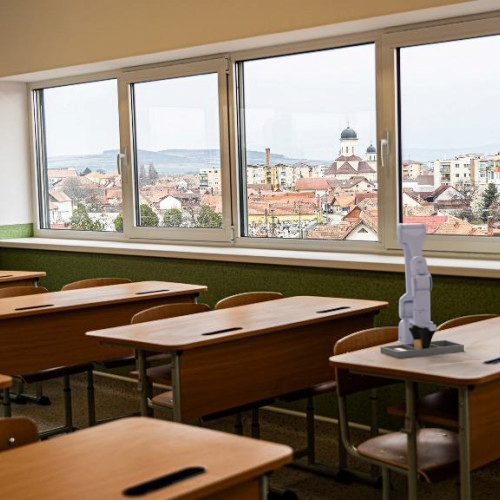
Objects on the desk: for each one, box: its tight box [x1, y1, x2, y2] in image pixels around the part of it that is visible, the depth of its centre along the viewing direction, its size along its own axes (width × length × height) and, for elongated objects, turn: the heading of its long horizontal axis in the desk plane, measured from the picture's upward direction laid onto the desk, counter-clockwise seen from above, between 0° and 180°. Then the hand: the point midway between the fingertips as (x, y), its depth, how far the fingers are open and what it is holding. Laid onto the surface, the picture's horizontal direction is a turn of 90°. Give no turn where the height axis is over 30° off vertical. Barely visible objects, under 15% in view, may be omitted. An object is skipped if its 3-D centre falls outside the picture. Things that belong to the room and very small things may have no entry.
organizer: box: [380, 339, 465, 359], centre depth 315 cm, size 11×26×2 cm, turn 112°
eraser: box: [394, 348, 408, 352], centre depth 312 cm, size 5×2×2 cm, turn 22°
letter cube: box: [414, 339, 430, 349], centre depth 315 cm, size 4×4×4 cm
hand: (422, 348), depth 315 cm, fingers closed on letter cube, 4 cm apart
